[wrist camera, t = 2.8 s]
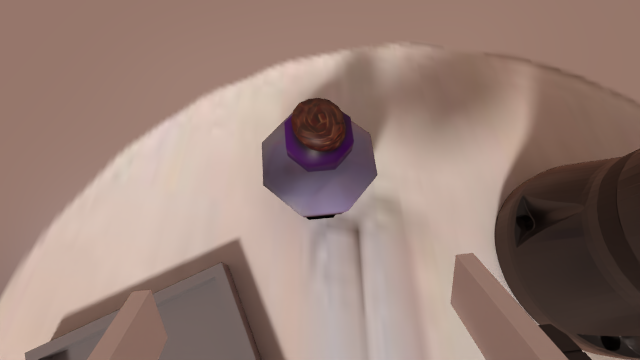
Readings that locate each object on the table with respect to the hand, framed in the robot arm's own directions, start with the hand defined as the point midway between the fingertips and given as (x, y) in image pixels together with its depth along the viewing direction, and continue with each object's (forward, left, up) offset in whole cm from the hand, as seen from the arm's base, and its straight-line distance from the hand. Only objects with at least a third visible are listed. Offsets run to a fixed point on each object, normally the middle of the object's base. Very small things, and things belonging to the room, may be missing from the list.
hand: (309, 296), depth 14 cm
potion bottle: (-4, -8, -13) cm, 16 cm away
